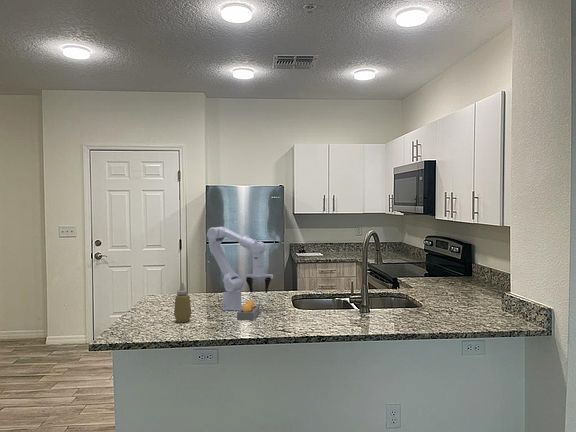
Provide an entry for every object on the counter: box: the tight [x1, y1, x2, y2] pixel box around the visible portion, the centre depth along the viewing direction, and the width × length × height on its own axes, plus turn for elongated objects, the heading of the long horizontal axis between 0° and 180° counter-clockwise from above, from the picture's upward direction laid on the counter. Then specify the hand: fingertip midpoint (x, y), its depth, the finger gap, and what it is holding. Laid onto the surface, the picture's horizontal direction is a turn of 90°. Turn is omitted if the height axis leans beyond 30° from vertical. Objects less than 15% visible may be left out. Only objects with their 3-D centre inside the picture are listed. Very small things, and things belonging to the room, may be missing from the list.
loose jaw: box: [242, 303, 251, 312], centre depth 218 cm, size 4×4×6 cm
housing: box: [236, 300, 261, 321], centre depth 221 cm, size 8×14×6 cm, turn 172°
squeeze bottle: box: [173, 282, 192, 323], centre depth 214 cm, size 8×8×18 cm
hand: (259, 292), depth 231 cm, fingers open, 7 cm apart
